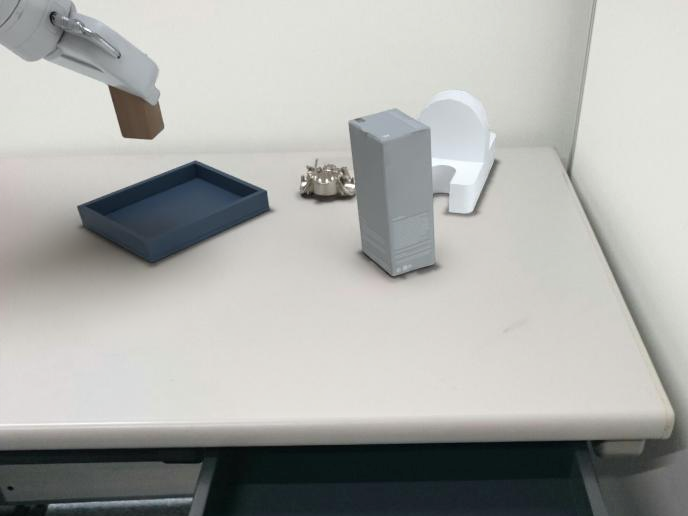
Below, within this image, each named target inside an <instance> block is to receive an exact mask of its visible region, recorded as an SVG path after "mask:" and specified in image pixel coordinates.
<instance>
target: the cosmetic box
mask: <svg viewBox="0 0 688 516" xmlns="http://www.w3.org/2000/svg"><path fill="white" fill-rule="evenodd" d="M348 132H349V142H350V151H351V160H352V168H353V177H354V178H355V187H356V188H355V195H356V196H355V197H356V204H357V213H358V223H359V230H360V231H359V233H360V241H361V252H362V253H364V254H365V255H366V256H368V257H369V259H371V260H372V261H373V262H375V263H376V264H377V265H378V266H379V267H381V269H383V270H384V271H385V272H386V273H388V274H389V275H390V276H392V277H396V276H399V275H400V276H401V275H403V274H405V273H409V272H411V271H415V270H418V269H422V268H425V267H429V266H433V265H435V264H436V242H435V239H436V238H435V215H434V212H435V211H434V194H433V184H432V157H431V128H430V127H428V126H426V125H424V124H423V123H421V122H419V121H417V119H415V118H413V117H412V116H410V115H408V114H407V113H405V112H402V110H400V109H398V108H397V107H395V108H391V109H386V110H383V111H379V112H376V113H373V114H368V115H365V116H361V117H357V118H353V119H349V120H348Z"/></svg>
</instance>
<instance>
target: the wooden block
mask: <svg viewBox="0 0 688 516" xmlns="http://www.w3.org/2000/svg"><path fill="white" fill-rule="evenodd" d="M145 54H146V53H145ZM146 55H147V56H148V54H146ZM154 86H155V87H156V84H155V85H154ZM107 87H108V91H109V94H110V98H111V102H112V106H113V108H114V113H115V116H116V120H117V123H118V127H119V131H120V135H121V136H122V138H123V139H133V140H149V141H150V140H151V141H152V140H154V139H155V138H156V137H157V136H158V135H159V134H161V133H162V131H164V129H165V121H164V118H163V114H162V111H161V110H162V109H161V105H160V102H159V100H158V102H157V104H156V105H151V104H148V103H146V102H145V101H143V100H142V99H140V98H139V97H138V96H136V95H134V94H131V93H128V92H126V91H123V90H121V89H118V88H116V87H113V86H111V85H107Z"/></svg>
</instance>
